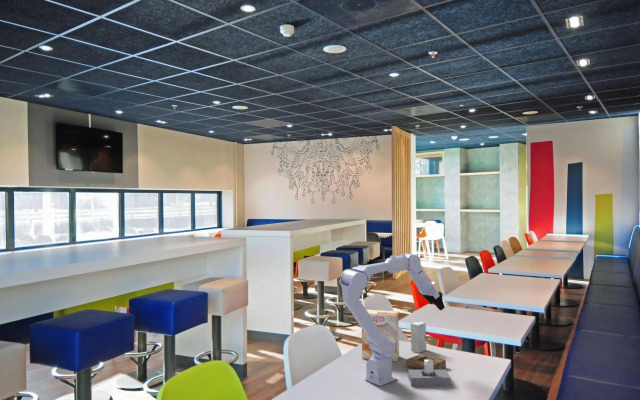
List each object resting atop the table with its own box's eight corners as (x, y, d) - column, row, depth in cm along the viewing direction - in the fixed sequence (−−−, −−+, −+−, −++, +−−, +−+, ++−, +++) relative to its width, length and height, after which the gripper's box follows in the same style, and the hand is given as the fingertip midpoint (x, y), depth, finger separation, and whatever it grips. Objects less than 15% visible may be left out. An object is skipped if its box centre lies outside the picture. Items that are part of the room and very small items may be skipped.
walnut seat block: (428, 374, 178) (428, 366, 178) (406, 366, 186) (406, 359, 186) (445, 367, 185) (445, 359, 185) (423, 360, 193) (423, 353, 193)
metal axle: (429, 384, 168) (429, 362, 168) (422, 381, 171) (422, 360, 171) (435, 381, 170) (434, 360, 170) (428, 379, 173) (427, 358, 173)
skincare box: (419, 353, 202) (418, 325, 202) (410, 350, 205) (409, 323, 205) (427, 349, 206) (426, 322, 206) (418, 347, 210) (417, 320, 209)
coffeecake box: (361, 358, 197) (360, 312, 196) (365, 353, 203) (364, 308, 203) (397, 361, 192) (396, 314, 192) (399, 356, 199) (398, 310, 199)
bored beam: (411, 386, 167) (411, 377, 167) (408, 377, 175) (408, 369, 175) (450, 386, 166) (450, 377, 166) (445, 377, 174) (445, 369, 174)
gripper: (438, 278, 175) (454, 305, 178) (420, 268, 189) (436, 293, 192) (423, 289, 174) (440, 316, 177) (406, 278, 188) (423, 304, 191)
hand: (437, 305), depth 185 cm, fingers open, 7 cm apart
